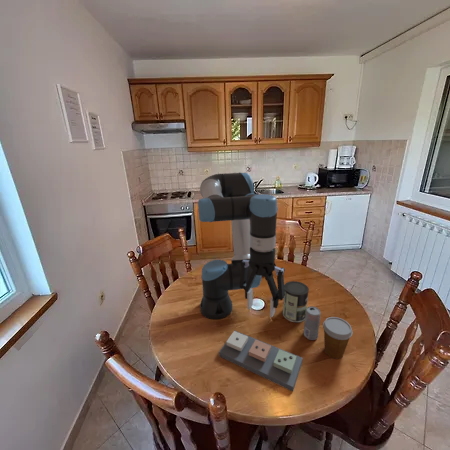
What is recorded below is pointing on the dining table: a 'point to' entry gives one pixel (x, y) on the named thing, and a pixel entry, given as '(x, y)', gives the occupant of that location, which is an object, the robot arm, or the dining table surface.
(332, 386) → the dining table surface
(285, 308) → the coffee can
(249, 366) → the keypad board
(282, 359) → the key three
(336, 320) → the disposable coffee cup
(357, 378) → the dining table surface
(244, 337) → the key one
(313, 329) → the energy drink
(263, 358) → the key two
